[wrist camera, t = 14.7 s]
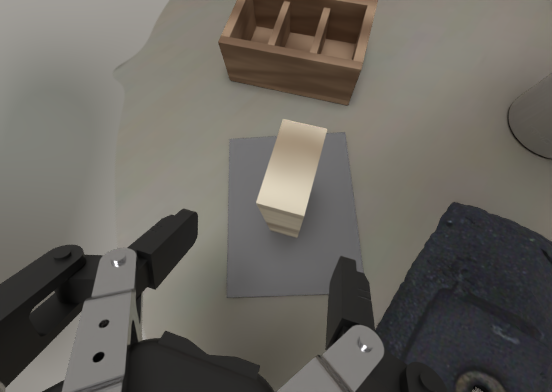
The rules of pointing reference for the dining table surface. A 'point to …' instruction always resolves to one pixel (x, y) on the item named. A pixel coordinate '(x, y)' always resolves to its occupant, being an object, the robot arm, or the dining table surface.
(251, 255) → the rubber mat
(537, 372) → the dark slate chunk
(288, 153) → the ash block
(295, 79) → the walnut box
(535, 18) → the dining table surface
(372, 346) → the robot arm
